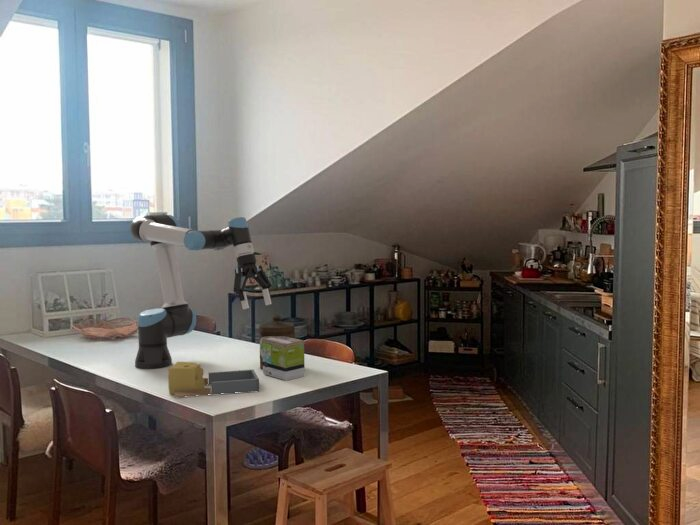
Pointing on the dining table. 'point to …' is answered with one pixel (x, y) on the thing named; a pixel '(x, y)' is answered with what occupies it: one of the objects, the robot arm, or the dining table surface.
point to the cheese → (185, 376)
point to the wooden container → (275, 332)
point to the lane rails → (193, 391)
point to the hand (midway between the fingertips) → (257, 306)
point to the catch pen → (233, 381)
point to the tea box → (283, 357)
